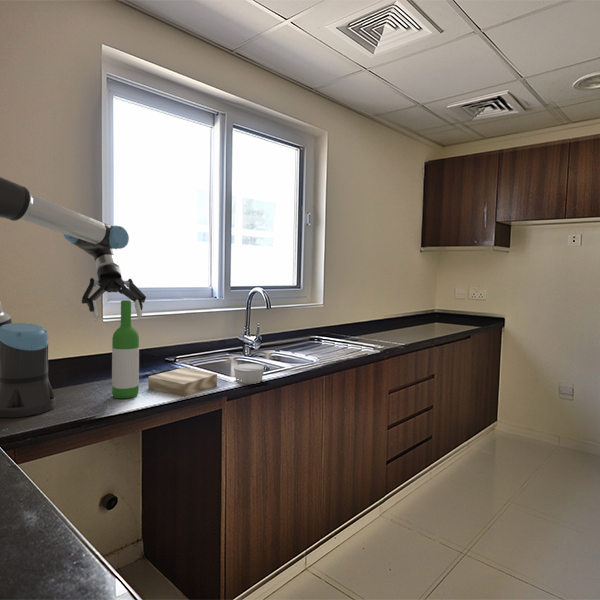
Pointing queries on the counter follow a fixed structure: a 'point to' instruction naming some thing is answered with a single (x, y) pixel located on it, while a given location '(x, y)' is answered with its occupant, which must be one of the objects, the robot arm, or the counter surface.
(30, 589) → the counter surface
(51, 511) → the counter surface
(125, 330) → the wine bottle
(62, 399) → the counter surface
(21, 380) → the robot arm
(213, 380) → the birch base
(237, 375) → the ramekin
